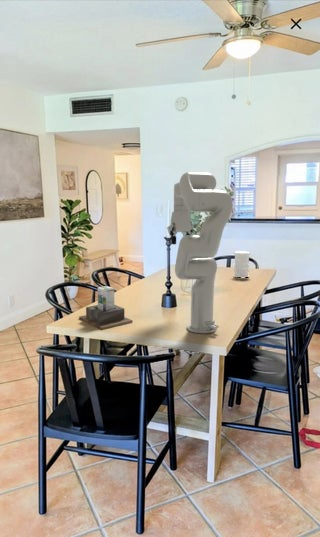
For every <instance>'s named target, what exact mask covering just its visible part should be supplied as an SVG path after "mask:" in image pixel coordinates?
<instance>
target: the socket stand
mask: <svg viewBox="0 0 320 537" xmlns="http://www.w3.org/2000/svg"><path fill="white" fill-rule="evenodd" d="M85 314H86V315H85ZM85 314H84V315H81V316H78V319H79V320H81V321H83V322H85V323H87V324H89V325H91V326H94V328H95V327H96V328H98V329H99V330H106V329H110V328H114V327H119V326H123V324H124V325H128V324H132V323H133V320H132V319H131V318H128V317H125V308H124V307H122V306H118V305H116V304H114V309H111V310H106V311H101V310H98V304H97V305H92V306H87V307H85Z"/></svg>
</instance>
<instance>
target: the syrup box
mask: <svg viewBox="0 0 320 537" xmlns="http://www.w3.org/2000/svg"><path fill="white" fill-rule="evenodd" d="M97 305H98V310H101V311H106V310H111V309H114V305H115V288H114V287H111V286H108V285H107V286H106V285H105V286H98V287H97Z"/></svg>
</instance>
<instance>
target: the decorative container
mask: <svg viewBox="0 0 320 537" xmlns="http://www.w3.org/2000/svg"><path fill="white" fill-rule="evenodd" d="M233 254H234V255H235V256H234V270H233V271H234V272H233V273H234V274H233V275H232V277H233V276H234V277H233V278H235V277H248V276H249V277H250V275H249V267H250V266H249V264H250V261H249V260H250V254H251V252H250V251H245V250H243V251H241V250H239V251H238V250H237V251H234V253H233Z"/></svg>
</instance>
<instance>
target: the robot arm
mask: <svg viewBox="0 0 320 537" xmlns="http://www.w3.org/2000/svg"><path fill="white" fill-rule="evenodd" d="M216 187H217V179H216V177H215V176H214V175H213V174H212V173H210V172H200V171H199V172H198V171H197V172H194V171H188V172H187V171H186V172H184V173H183V174H182V175H181V177H180V179H179V182H177V183H175V184H173V211H172V213H171V218H170V225H169V226H167V227H166V229H167V232H168V234H169V237H170V244H171V245H177V236H176V235H177V233H185V235H184V236H182V237H181V238H180V240H179V244H178V248H177V252H176V253H177V254H176V259H175V265H174V266H175V267H174V273H175V276H176V278H177V279H179V280H183V281H184V280H185V281H186V280H187V281H188V280H189V281H190V280H195V281H194V282H193V284H192V286H191V292H190V294H191V295H190V297H191V298H190V299H191V300H190V323H188V324H187V325H186V329H187V331H189V332H192V333H196V334H211V333H214V332H216V331H218V328H219V325H218V324H217V323H215V322H216V321H215V319H214V295H215V293H214V292H215V281H216V274H217V269H218V263H217V261H216V259H215V258H214V257H216V255H217V254H218V251H219V247H220V245H221V240H222V236H223V232H224V229H225V227H226V225H227V223H228V222H229V219H230V216H231V214H232V211H233V198H232V195H231V194H230V193H229V192H227V191H225V190H222V189H221V190H220V189H216ZM190 212H191V213H212V214H210V215H209V216H208V217H206V218H205V220H204V221H203V223H202V224H201V228H200V232H199V233H198V234H192V233H193V232H194V230H195V226H194V225H193V224H192V223H191V213H190Z"/></svg>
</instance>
